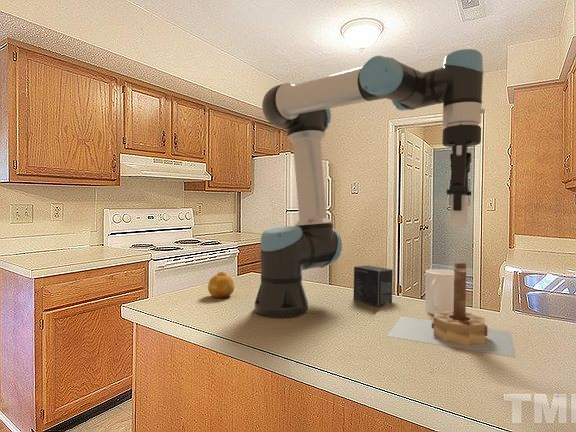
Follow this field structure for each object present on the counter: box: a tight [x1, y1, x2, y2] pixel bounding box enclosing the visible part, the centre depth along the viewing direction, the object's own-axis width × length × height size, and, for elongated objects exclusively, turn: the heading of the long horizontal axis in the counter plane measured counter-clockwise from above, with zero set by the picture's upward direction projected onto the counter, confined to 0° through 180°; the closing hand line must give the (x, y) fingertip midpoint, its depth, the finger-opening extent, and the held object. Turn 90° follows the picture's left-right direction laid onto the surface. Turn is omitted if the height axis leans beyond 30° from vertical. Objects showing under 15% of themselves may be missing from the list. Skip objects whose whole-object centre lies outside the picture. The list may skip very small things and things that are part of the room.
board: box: [386, 316, 516, 358], centre depth 83 cm, size 24×16×1 cm, turn 62°
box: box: [352, 265, 393, 307], centre depth 115 cm, size 11×7×10 cm, turn 34°
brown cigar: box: [453, 261, 467, 321], centre depth 81 cm, size 2×2×16 cm
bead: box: [432, 311, 488, 345], centre depth 81 cm, size 11×10×4 cm
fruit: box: [207, 271, 235, 299], centre depth 121 cm, size 8×8×8 cm
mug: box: [424, 268, 454, 316], centre depth 98 cm, size 12×8×12 cm
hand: (459, 225), depth 81 cm, fingers open, 13 cm apart
